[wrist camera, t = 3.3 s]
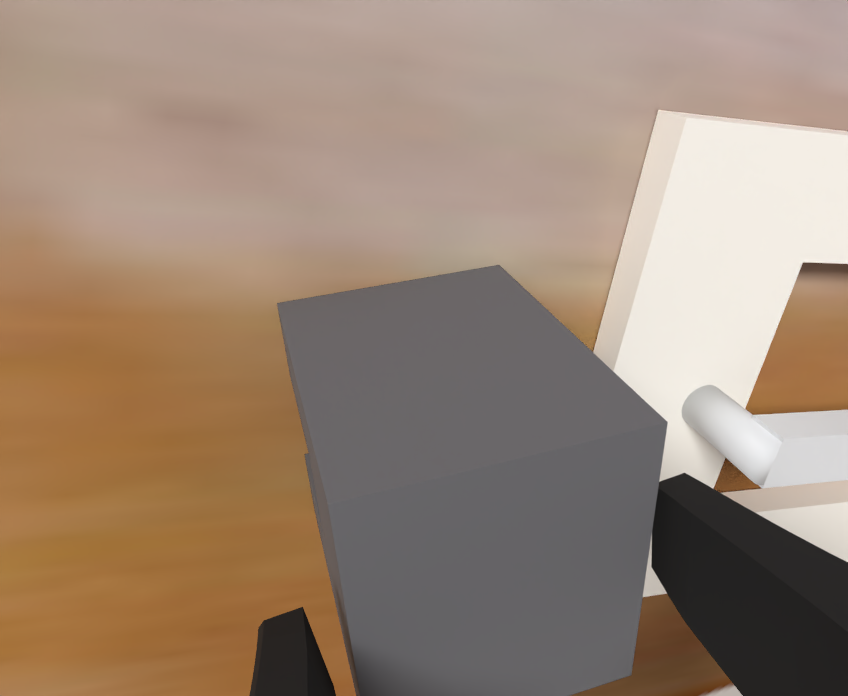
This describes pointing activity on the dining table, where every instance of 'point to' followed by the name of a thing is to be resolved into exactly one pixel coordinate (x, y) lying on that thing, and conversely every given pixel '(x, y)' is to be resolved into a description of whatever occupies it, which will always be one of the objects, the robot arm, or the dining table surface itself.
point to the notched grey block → (473, 487)
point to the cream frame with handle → (731, 308)
